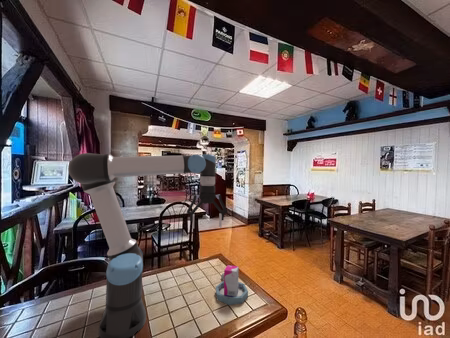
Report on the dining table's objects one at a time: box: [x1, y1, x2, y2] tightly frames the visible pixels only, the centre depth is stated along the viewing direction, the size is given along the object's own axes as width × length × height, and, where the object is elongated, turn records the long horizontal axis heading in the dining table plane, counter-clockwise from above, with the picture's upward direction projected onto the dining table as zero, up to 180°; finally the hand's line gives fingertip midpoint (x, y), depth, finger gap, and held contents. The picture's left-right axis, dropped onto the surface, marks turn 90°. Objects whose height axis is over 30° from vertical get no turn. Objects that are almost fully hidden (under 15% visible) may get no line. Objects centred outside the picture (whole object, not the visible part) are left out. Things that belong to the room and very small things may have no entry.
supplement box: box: [223, 264, 240, 297], centre depth 90 cm, size 6×6×12 cm
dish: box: [215, 280, 249, 306], centre depth 90 cm, size 14×14×2 cm
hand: (206, 227), depth 97 cm, fingers open, 13 cm apart
